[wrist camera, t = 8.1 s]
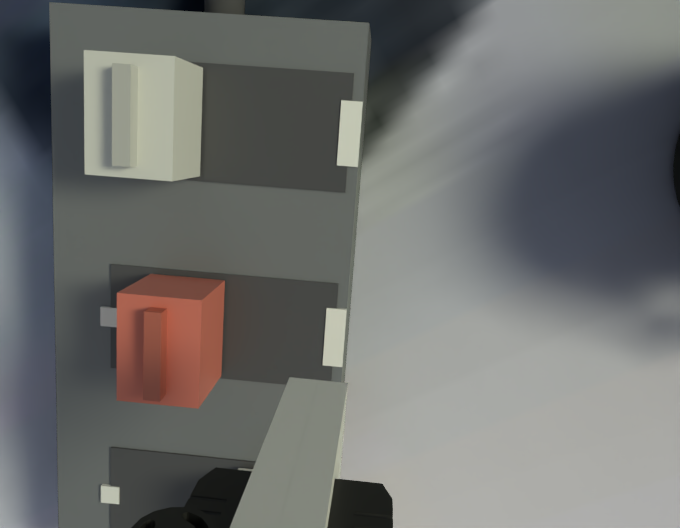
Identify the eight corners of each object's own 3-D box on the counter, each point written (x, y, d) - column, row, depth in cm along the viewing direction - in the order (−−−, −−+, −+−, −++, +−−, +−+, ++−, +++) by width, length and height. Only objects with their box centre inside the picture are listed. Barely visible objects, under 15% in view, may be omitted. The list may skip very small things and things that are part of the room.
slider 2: (150, 273, 25) (109, 296, 21) (224, 280, 25) (196, 304, 21) (149, 368, 26) (109, 407, 22) (221, 375, 25) (193, 415, 22)
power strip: (93, -129, 26) (39, -179, 22) (383, -114, 25) (383, -163, 21) (96, 515, 32) (54, 570, 28) (331, 541, 31) (324, 601, 27)
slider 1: (124, 62, 23) (74, 47, 20) (203, 67, 23) (168, 53, 19) (123, 170, 24) (76, 175, 20) (200, 176, 24) (166, 182, 20)
